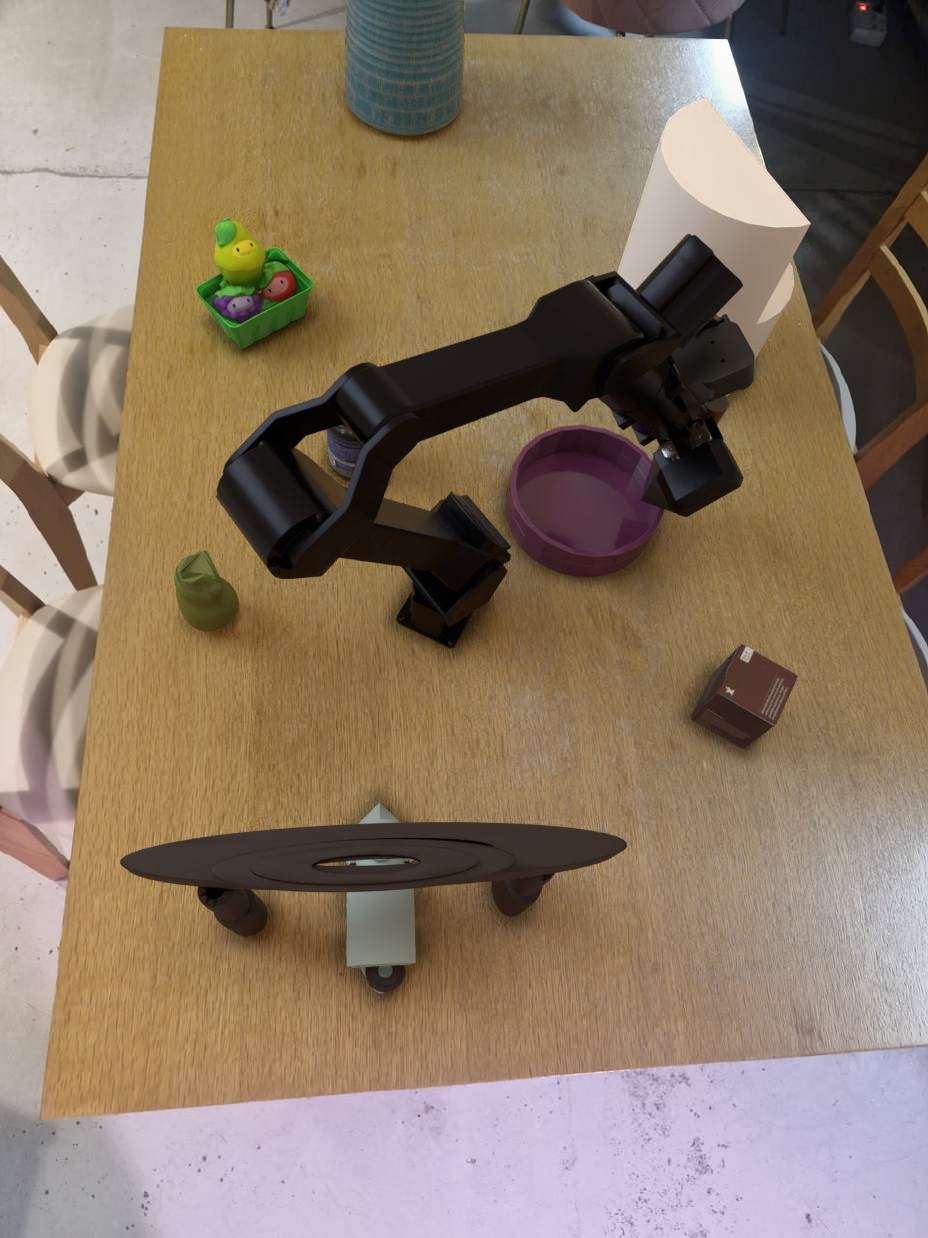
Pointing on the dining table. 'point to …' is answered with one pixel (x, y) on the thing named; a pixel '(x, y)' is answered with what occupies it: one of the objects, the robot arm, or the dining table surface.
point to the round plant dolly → (372, 873)
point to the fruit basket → (252, 286)
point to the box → (744, 697)
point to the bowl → (581, 501)
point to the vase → (405, 63)
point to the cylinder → (718, 216)
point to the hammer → (652, 489)
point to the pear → (204, 594)
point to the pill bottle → (343, 450)
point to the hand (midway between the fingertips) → (701, 443)
